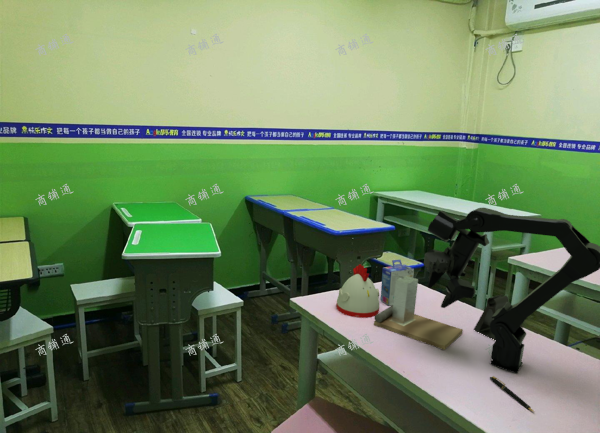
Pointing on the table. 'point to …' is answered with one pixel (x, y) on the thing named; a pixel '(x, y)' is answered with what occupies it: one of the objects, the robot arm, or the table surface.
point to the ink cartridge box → (393, 280)
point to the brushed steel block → (404, 299)
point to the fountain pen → (510, 392)
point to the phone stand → (490, 315)
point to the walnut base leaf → (420, 329)
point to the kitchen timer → (358, 295)
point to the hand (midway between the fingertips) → (435, 297)
